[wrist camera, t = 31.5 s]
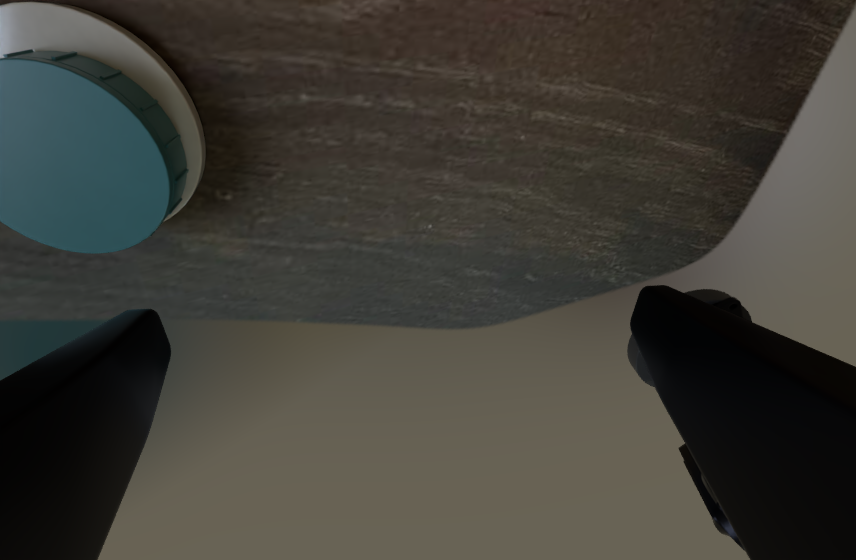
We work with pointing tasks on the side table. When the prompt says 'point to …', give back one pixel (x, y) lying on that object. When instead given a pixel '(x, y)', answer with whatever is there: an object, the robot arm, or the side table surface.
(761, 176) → the side table surface
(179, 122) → the saucer
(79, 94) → the lid
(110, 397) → the robot arm
